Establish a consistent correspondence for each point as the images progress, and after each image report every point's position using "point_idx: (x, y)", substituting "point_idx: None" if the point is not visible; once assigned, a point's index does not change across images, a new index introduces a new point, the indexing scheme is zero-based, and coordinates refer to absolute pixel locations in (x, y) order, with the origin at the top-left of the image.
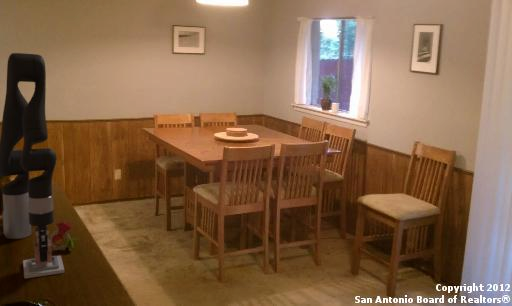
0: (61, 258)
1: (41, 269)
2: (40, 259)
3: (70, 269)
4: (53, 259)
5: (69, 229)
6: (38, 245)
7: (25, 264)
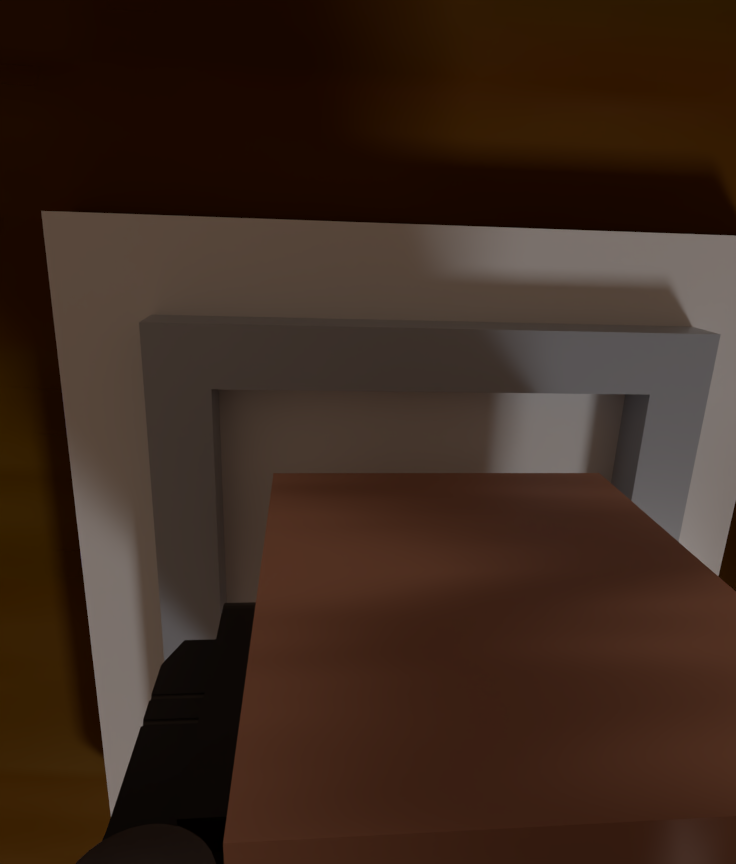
0: None
1: (158, 537)
2: (221, 633)
3: None
4: None
5: None
6: None
7: (571, 270)
